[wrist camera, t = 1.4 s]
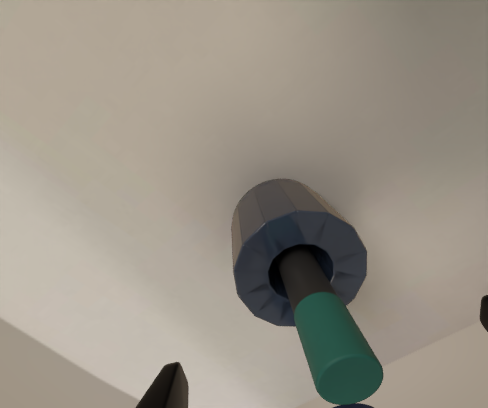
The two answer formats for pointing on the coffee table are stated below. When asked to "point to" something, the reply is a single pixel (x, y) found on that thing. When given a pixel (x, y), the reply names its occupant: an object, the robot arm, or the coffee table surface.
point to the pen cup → (285, 236)
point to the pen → (328, 331)
